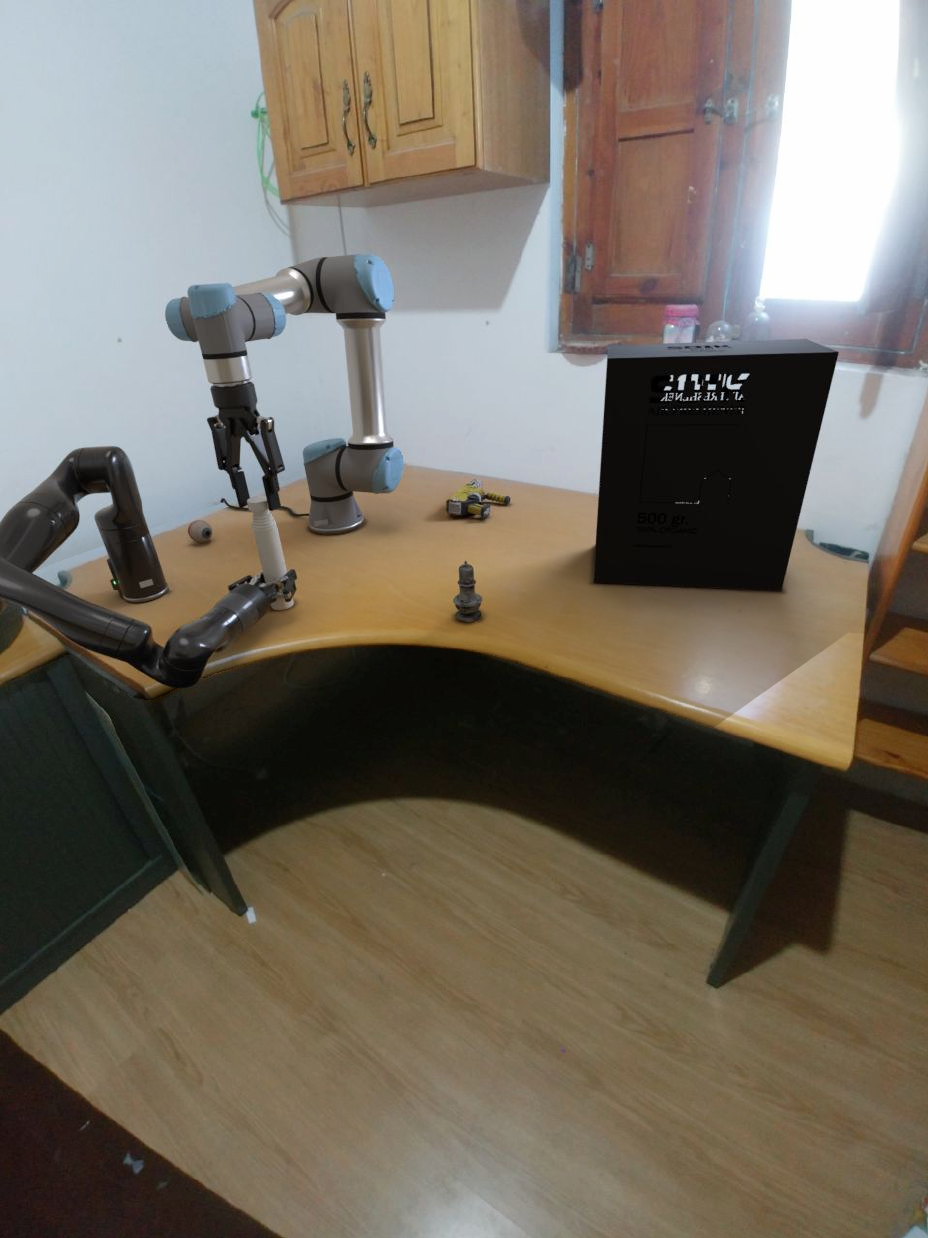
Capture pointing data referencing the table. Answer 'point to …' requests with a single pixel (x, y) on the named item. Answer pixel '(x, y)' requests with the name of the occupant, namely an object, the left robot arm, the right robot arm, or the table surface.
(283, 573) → the bottle
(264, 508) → the cap
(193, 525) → the eyeball
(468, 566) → the grey tall ringed piece
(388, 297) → the right robot arm
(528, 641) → the table surface
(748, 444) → the cardboard box
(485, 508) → the toy gun
